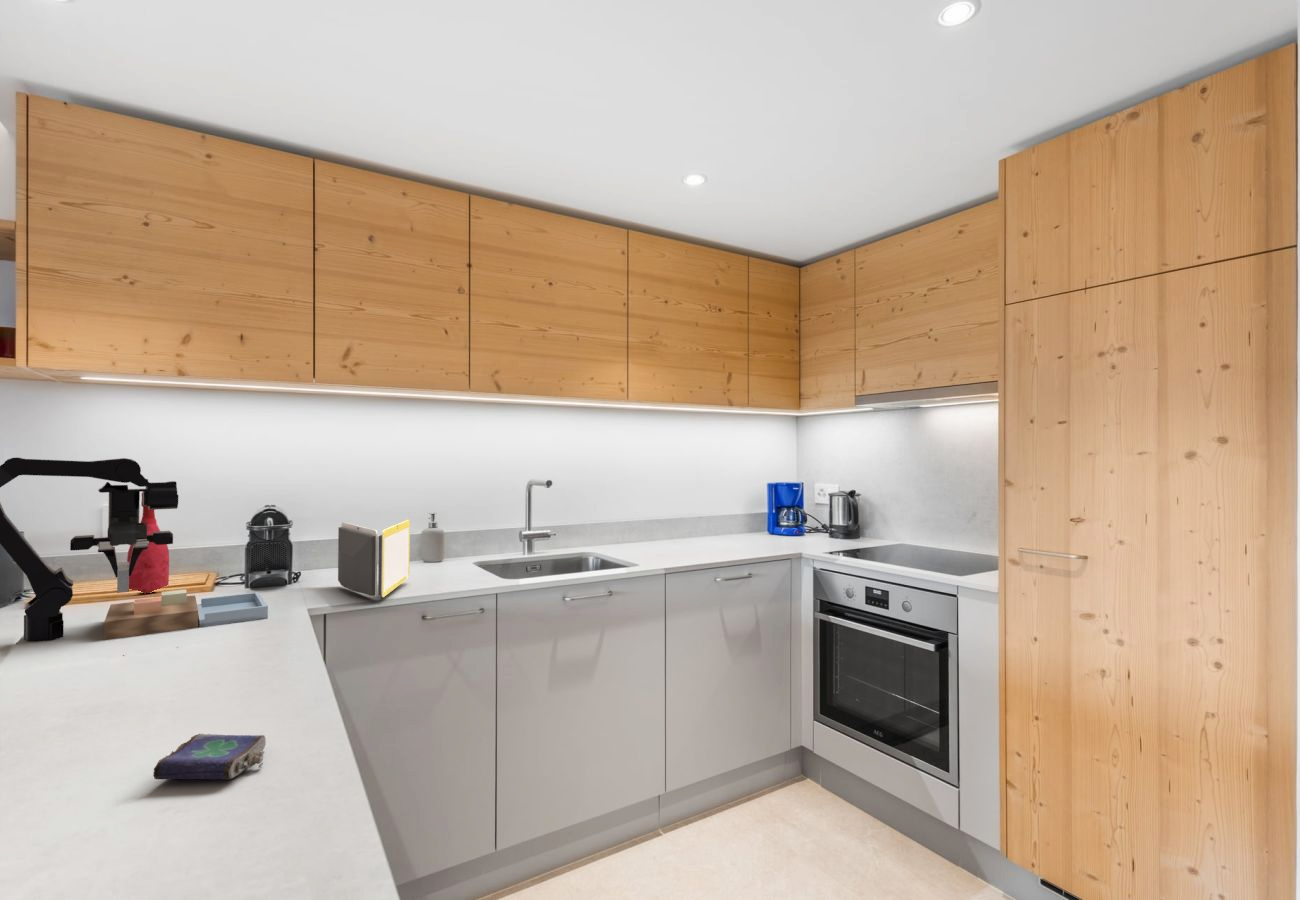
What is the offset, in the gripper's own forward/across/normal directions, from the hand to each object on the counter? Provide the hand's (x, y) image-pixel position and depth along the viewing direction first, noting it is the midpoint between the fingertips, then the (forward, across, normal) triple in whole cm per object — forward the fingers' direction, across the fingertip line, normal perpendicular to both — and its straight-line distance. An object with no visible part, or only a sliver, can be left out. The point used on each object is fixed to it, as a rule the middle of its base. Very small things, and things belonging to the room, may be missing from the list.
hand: (123, 576), depth 154 cm
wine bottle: (+12, +5, +44) cm, 46 cm away
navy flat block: (+13, +7, -95) cm, 96 cm away
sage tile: (+8, +10, +2) cm, 13 cm away
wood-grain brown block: (+12, +6, -2) cm, 13 cm away
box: (+12, +22, -2) cm, 25 cm away
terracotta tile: (+8, +5, -5) cm, 10 cm away
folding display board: (+12, +63, +10) cm, 65 cm away
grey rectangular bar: (+2, 0, 0) cm, 2 cm away
